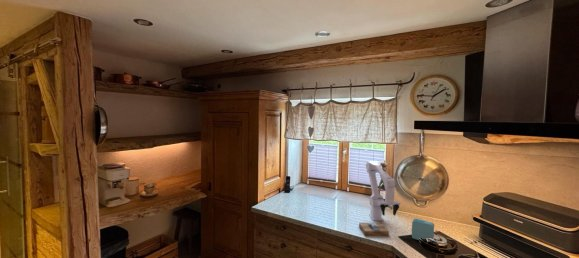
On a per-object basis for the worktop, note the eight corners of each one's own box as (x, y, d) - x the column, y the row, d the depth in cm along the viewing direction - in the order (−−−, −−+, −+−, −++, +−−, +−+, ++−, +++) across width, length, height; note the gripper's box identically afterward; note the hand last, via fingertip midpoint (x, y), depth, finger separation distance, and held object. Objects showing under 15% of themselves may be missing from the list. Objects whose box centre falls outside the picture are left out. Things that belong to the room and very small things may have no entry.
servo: (368, 228, 162) (368, 220, 162) (373, 228, 163) (373, 220, 162) (373, 234, 154) (374, 226, 153) (379, 234, 154) (379, 226, 154)
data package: (433, 241, 147) (434, 222, 147) (432, 244, 144) (433, 225, 143) (412, 235, 154) (413, 217, 153) (411, 238, 150) (412, 220, 150)
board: (359, 226, 164) (359, 222, 164) (381, 227, 165) (381, 223, 164) (364, 235, 152) (365, 231, 152) (388, 235, 153) (389, 231, 152)
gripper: (381, 197, 157) (380, 217, 158) (402, 198, 157) (401, 217, 158) (377, 194, 164) (376, 212, 165) (397, 194, 164) (396, 213, 165)
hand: (388, 214), depth 162 cm, fingers open, 7 cm apart
